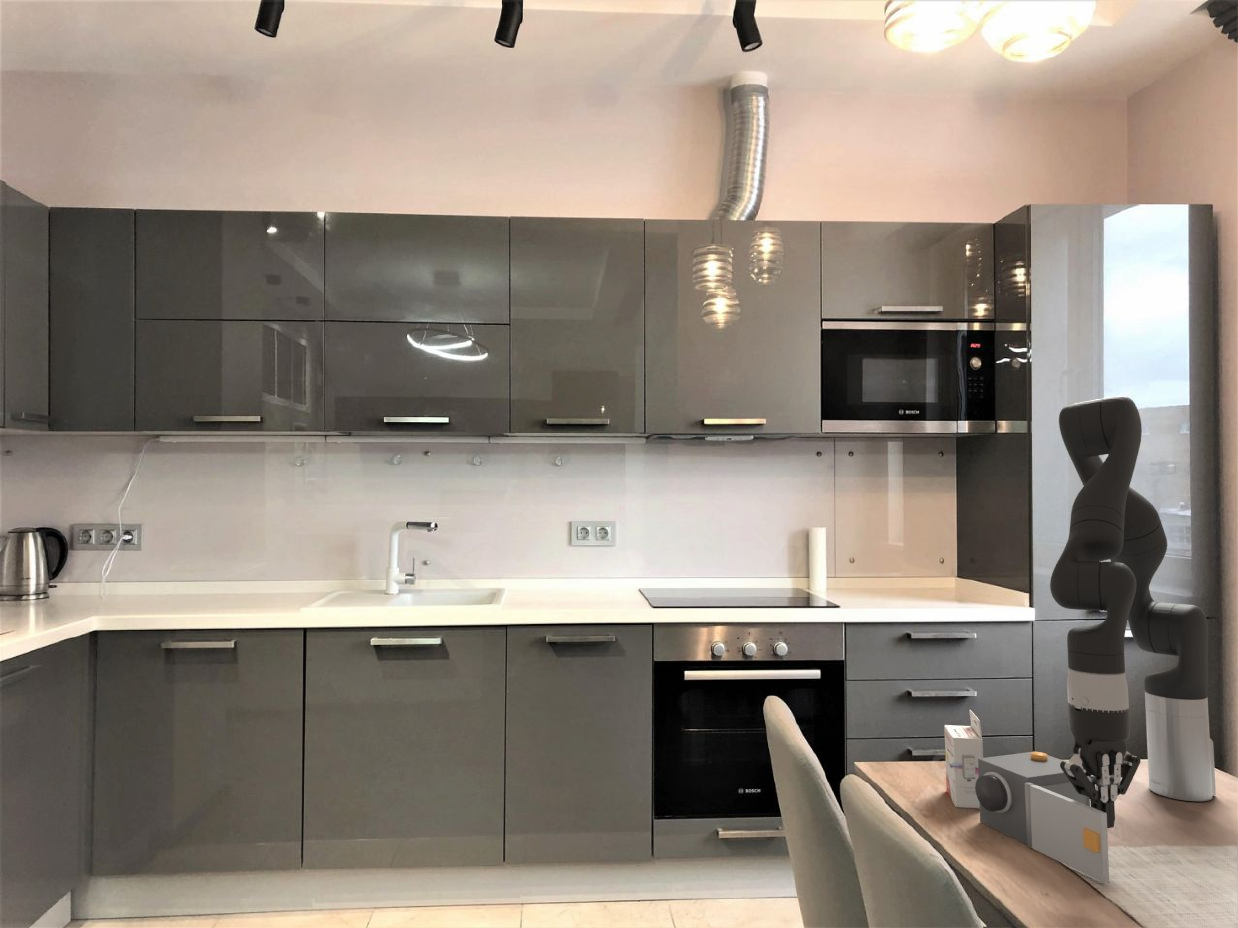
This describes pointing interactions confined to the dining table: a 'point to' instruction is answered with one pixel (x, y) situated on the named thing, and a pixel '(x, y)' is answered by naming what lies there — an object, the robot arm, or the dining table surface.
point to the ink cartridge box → (963, 762)
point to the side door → (1067, 831)
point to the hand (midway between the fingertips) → (1103, 826)
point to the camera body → (1017, 788)
